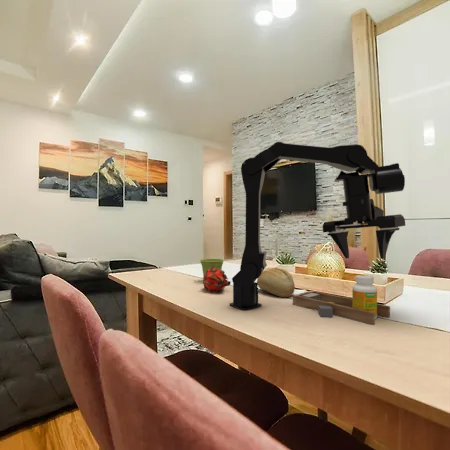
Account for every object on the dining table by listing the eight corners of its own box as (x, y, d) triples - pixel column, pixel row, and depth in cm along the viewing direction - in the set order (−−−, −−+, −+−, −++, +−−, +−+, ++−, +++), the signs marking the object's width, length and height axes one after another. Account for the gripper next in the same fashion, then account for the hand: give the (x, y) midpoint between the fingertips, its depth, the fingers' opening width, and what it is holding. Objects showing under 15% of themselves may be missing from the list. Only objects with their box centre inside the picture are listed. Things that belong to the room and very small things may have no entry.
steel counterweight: (309, 305, 81) (309, 297, 81) (301, 304, 83) (301, 295, 83) (319, 302, 84) (319, 294, 84) (312, 301, 86) (312, 292, 86)
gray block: (332, 317, 71) (332, 308, 71) (320, 316, 71) (320, 308, 71) (329, 313, 74) (329, 305, 74) (318, 313, 74) (318, 305, 74)
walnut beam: (372, 324, 66) (372, 312, 66) (292, 304, 83) (292, 294, 83) (390, 316, 71) (390, 305, 71) (311, 298, 88) (311, 289, 88)
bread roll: (272, 287, 105) (272, 265, 105) (303, 296, 92) (303, 270, 92) (250, 290, 100) (250, 267, 100) (279, 300, 87) (279, 273, 87)
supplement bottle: (367, 321, 68) (366, 279, 68) (347, 315, 73) (347, 275, 73) (382, 317, 70) (382, 277, 70) (362, 312, 75) (362, 273, 75)
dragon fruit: (211, 291, 106) (223, 304, 95) (193, 278, 103) (203, 291, 92) (225, 271, 107) (238, 282, 96) (207, 259, 104) (219, 268, 93)
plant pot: (202, 279, 120) (202, 258, 120) (225, 280, 119) (225, 258, 119) (197, 284, 111) (197, 261, 111) (222, 284, 110) (222, 261, 110)
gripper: (411, 190, 72) (419, 254, 71) (341, 201, 87) (347, 254, 86) (389, 190, 65) (398, 261, 65) (318, 202, 80) (324, 259, 80)
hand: (364, 258), depth 74 cm, fingers open, 9 cm apart
